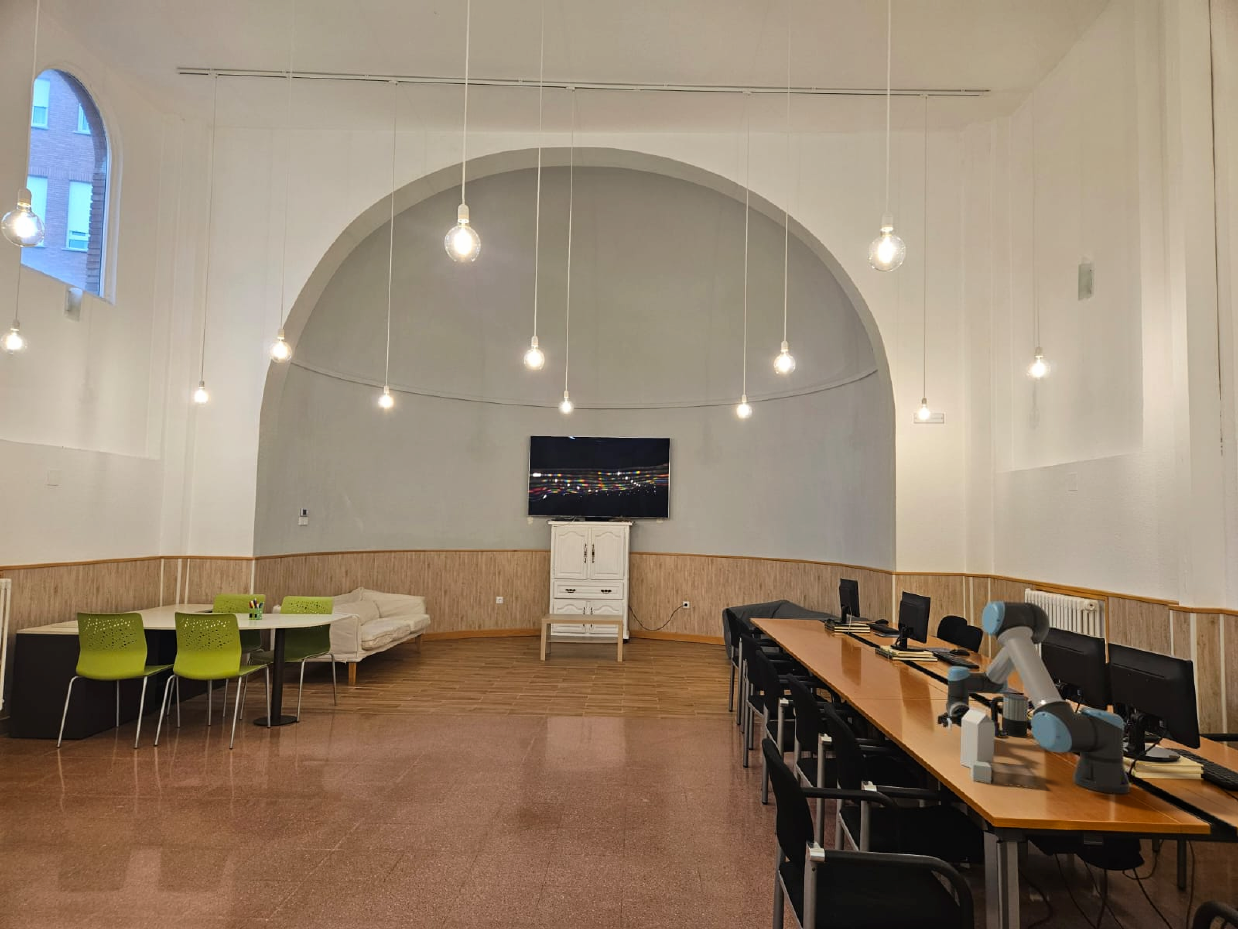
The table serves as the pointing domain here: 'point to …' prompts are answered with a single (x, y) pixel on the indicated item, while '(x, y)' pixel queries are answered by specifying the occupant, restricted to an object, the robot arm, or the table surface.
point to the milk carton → (977, 737)
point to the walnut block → (1012, 774)
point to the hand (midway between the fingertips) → (972, 728)
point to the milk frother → (1011, 714)
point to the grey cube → (980, 771)
